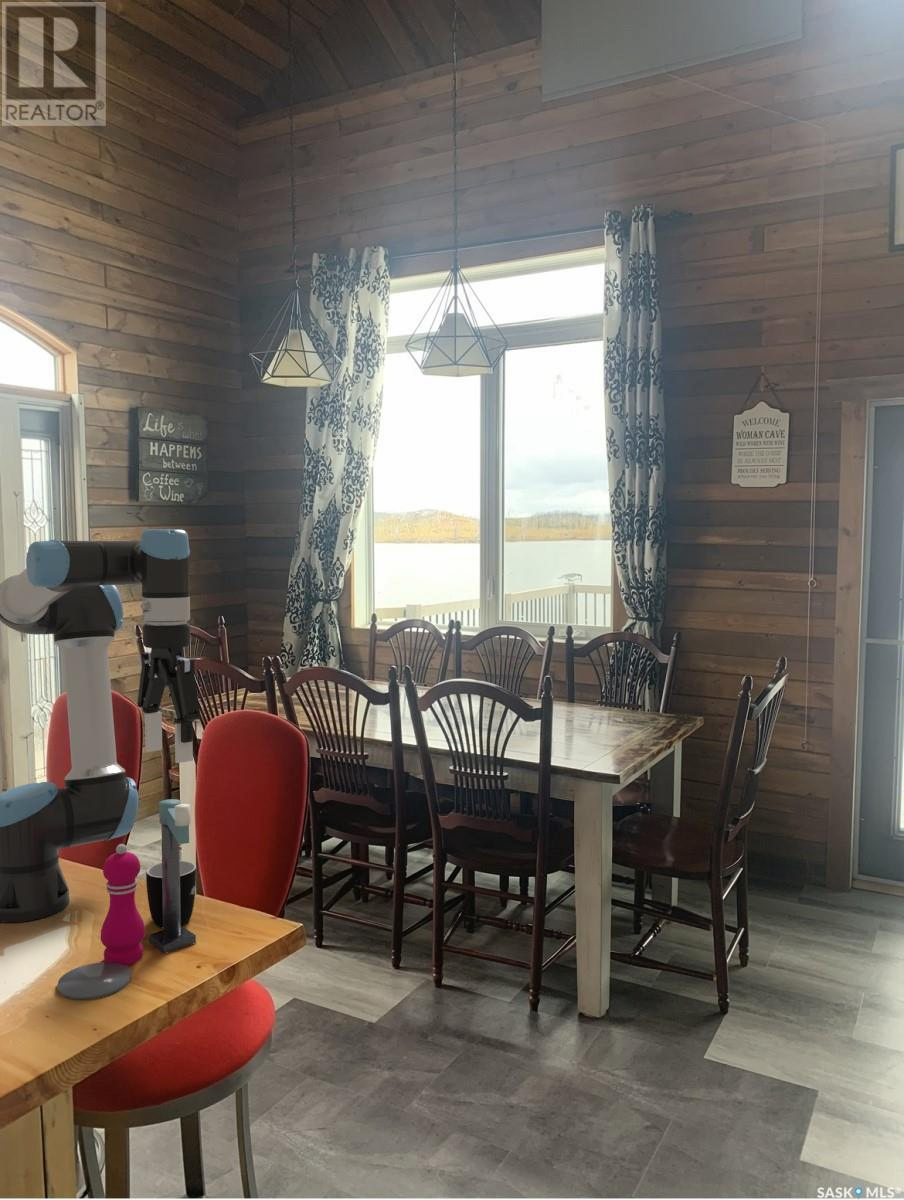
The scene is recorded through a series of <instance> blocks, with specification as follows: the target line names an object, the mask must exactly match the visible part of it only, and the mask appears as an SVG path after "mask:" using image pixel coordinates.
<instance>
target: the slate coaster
mask: <svg viewBox="0 0 904 1200" xmlns="http://www.w3.org/2000/svg"><path fill="white" fill-rule="evenodd" d="M131 973H132V972H131V969H130V968H129V967H128V965H127V966H125V965H123V964H119V963H113V962H94V963H88V964H85V965H82V966H81V965H80V966H77V967H75V968H73V969H70V970H69V971H67V972H65V973H64V974H63V975H62V976H61V977H60V978H58V979H59V980H58V982H57V992H58V994H59V995H61V997H63V998H67V999H69V998H71V999H70V1000H76V999H77V1000H78V999H79V1000H80V1001H81V999H82V1000H83V999H87V1000H93V999H94V998H95V999H99V998H98V997H100V998H104V997H107V996H110V995H112V994H115V993H117V992H119V991H121V990H122V989H124V988H125V987H126V986H127V985H128V984H129V983H130V981H131V977H132V976H131ZM103 996H104V997H103ZM79 1000H78V1001H79ZM83 1001H84V1000H83Z"/></svg>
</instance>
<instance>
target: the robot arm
mask: <svg viewBox="0 0 904 1200" xmlns="http://www.w3.org/2000/svg"><path fill="white" fill-rule="evenodd" d="M140 537H141V538H140V540H136V539H134V540H57V539H49V540H38V541H34V542H31V544H30V545H29V547H28V549H27V552H26V561H25V562H26V564H25V565H26V568H25V569H24V570H22V571H21V572H20V573H19V574H16V575H13V576H9V577H7V578H6V579H4V580H3V581H2V582H1V583H0V622H1V623H2V624H4V625H5V626H7V628H10V629H12V630H14V631H16V632H19V633H23V634H27V635H38V636H39V635H40V636H41V635H53V642H54V643H53V644H54V645H56V646H57V647H58V648H60V650H62V654H63V666H64V679H65V680H64V681H65V692H66V705H67V706H66V708H67V718H68V719H67V720H68V735H69V736H68V737H69V747H70V758H71V759H70V761H71V769H70V771H69V772H68V773H67V775H66V776H65V777H64V787H63V788H58V786H57V785H56V783H53V782H50V781H42V782H31V783H26V784H23V785H19V786H16V787H13V788H10V789H8V790H5V791H3V792H1V794H0V921H5V922H4V923H21V922H28V921H34V920H39V919H43V918H46V917H48V916H51V915H54V914H57V913H58V912H60V911H62V910H64V909H65V908H66V907H67V906H68V905H69V903H70V889H69V886H68V884H67V881H66V878H65V876H64V873H63V870H62V868H61V865H60V861H59V851H60V849H66V848H71V847H76V846H82V845H85V844H86V845H88V844H93V843H96V842H103V841H106V842H108V841H110V840H113V839H115V838H120V837H124V836H126V835H128V834H129V833H130V832H131V831H132V830H133V827H134V826H135V823H136V821H137V817H138V811H139V810H138V809H139V794H138V793H139V792H138V789H137V784H136V782H135V780H134V779H133V778H131V777H127V776H126V774H127V773H126V769H125V768H124V767H122V766H121V765H120V764H118V762H117V750H116V749H117V747H116V746H117V745H116V737H115V735H116V733H115V724H114V711H113V698H112V696H113V695H112V687H111V686H112V684H111V672H110V660H109V646H110V645H111V644H112V642H113V641H114V640H115V638H116V637H115V632H117V631H119V630H121V628H122V627H123V623H124V608H123V601H122V598H121V595H120V592H119V590H118V588H117V586H127V585H128V586H129V585H130V586H131V585H132V586H133V585H141V597H142V603H141V604H140V609H141V610H142V620H143V621H144V622H146V623H145V624H143V626H142V645H143V647H145V648H147V649H151V650H150V651H145V652H141V653H140V658H141V660H140V661H141V670H140V677H139V685H138V686H139V687H138V694H137V703H136V704H137V707H138V708H141V710H142V712H143V713H144V748H145V750H144V751H145V752H147V753H150V752H156V751H162V750H163V717H162V716H163V714H162V711H163V707H162V705H161V703H162V699H163V695H164V691H165V688H166V686H168V691H169V693H170V696H171V697H170V698H171V700H172V703H173V707H174V712H175V715H176V719H175V720H174V721H173V723H174V757H175V758H174V759H175V760H174V762H175V764H180V763H186V762H190V761H193V760H194V756H193V755H194V753H193V752H194V751H193V722H195V721H196V720H199V719H201V710H200V704H199V697H198V691H197V689H198V688H197V682H196V676H195V659H194V658H193V657H191V658H185V656H184V651H183V649H184V648H185V647H188V646H190V645H191V625H190V623H188V621H190V619H191V597H190V555H191V550H190V544H189V543H190V542H189V535H188V532H187V531H185V530H184V529H168V528H167V529H165V528H164V529H163V528H162V529H161V528H159V529H157V528H156V529H155V528H154V529H153V528H152V529H150V528H149V529H144V530H143V531H142V533H141V534H140Z"/></svg>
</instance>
